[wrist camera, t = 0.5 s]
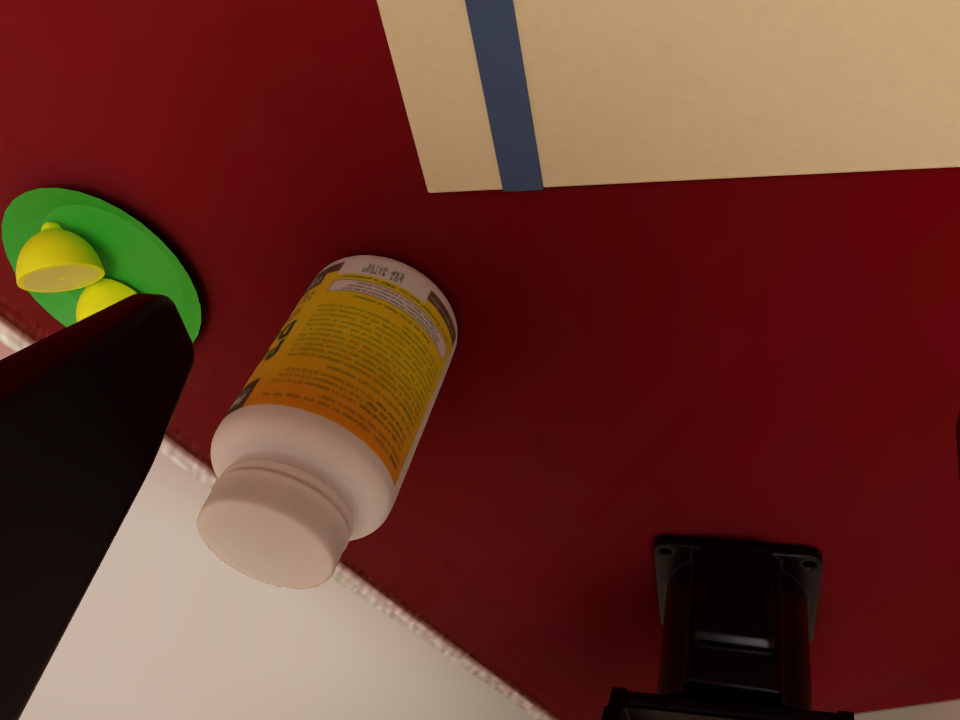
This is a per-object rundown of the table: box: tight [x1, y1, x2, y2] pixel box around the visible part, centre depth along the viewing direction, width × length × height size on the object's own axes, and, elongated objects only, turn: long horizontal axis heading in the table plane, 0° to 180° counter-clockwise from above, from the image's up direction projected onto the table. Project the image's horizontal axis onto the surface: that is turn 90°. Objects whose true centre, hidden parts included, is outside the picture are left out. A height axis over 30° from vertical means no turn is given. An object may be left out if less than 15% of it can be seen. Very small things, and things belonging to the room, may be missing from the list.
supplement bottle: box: [197, 255, 457, 589], centre depth 25 cm, size 6×6×10 cm
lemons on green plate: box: [2, 188, 201, 343], centre depth 30 cm, size 8×8×3 cm
